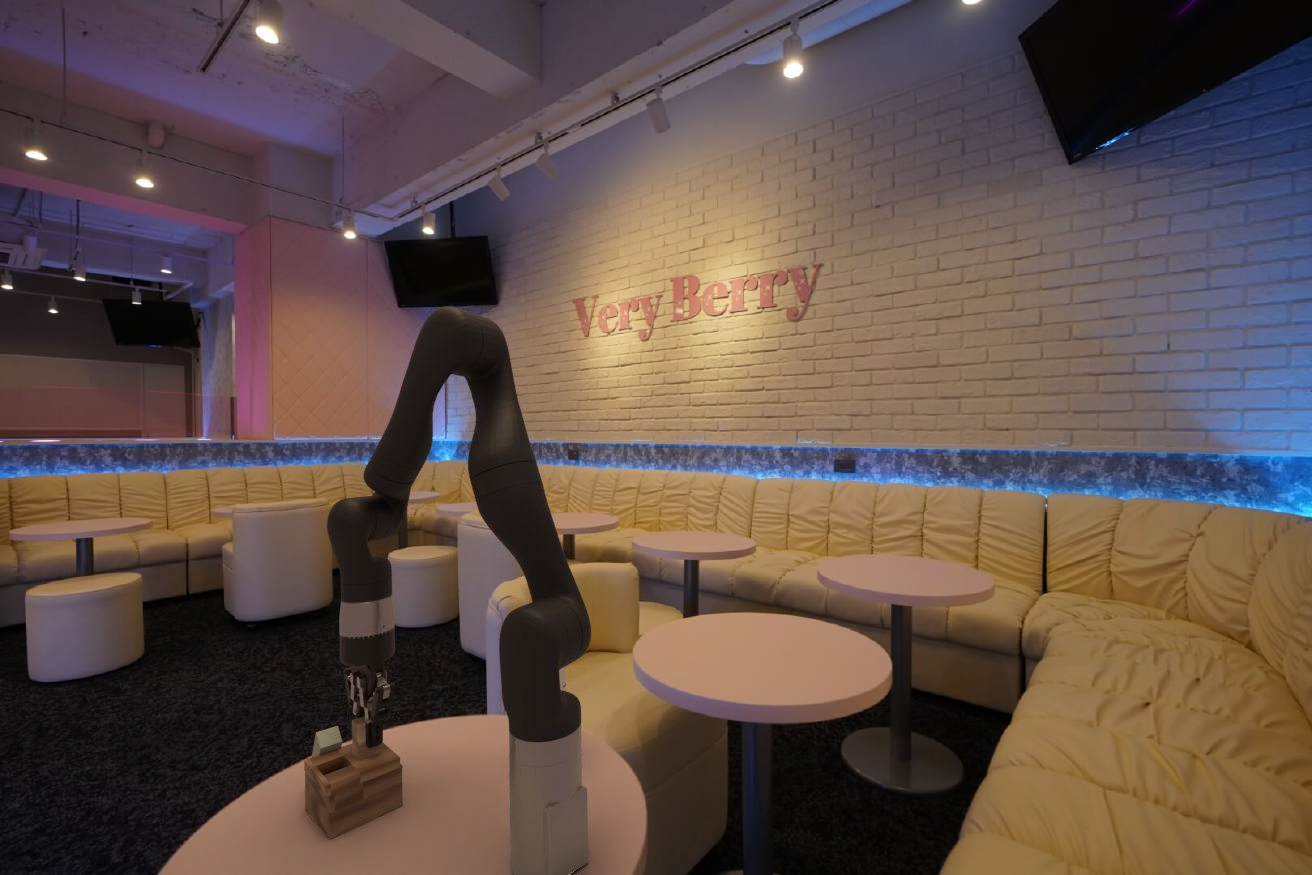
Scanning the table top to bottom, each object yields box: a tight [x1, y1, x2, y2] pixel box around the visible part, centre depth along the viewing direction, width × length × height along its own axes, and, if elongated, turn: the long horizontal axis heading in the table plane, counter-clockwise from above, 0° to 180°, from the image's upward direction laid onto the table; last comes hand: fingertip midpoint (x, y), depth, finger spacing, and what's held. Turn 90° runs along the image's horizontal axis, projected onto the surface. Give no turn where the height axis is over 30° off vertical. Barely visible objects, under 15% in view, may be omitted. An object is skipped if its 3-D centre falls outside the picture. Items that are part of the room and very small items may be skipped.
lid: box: [303, 716, 401, 797], centre depth 86 cm, size 10×10×6 cm
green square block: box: [311, 725, 343, 758], centre depth 91 cm, size 3×3×10 cm
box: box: [304, 763, 404, 840], centre depth 87 cm, size 10×10×6 cm
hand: (369, 741), depth 88 cm, fingers closed on lid, 3 cm apart
